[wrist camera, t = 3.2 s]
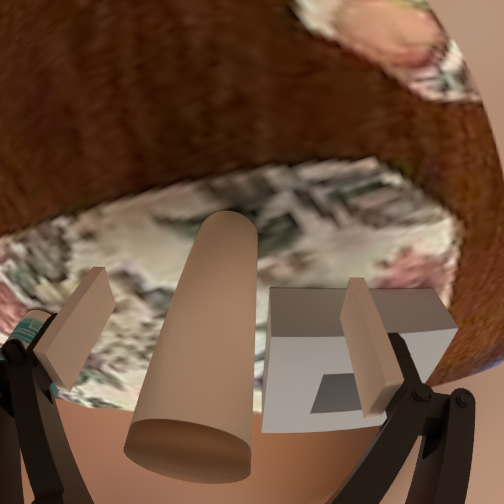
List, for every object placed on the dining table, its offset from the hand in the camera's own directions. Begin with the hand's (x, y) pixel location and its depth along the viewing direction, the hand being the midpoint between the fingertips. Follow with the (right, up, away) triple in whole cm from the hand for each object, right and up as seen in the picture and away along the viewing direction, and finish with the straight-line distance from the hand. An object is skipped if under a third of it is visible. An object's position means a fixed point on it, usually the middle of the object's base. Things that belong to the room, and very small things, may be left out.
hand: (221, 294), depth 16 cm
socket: (+10, -7, +10) cm, 16 cm away
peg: (0, +3, +5) cm, 6 cm away
